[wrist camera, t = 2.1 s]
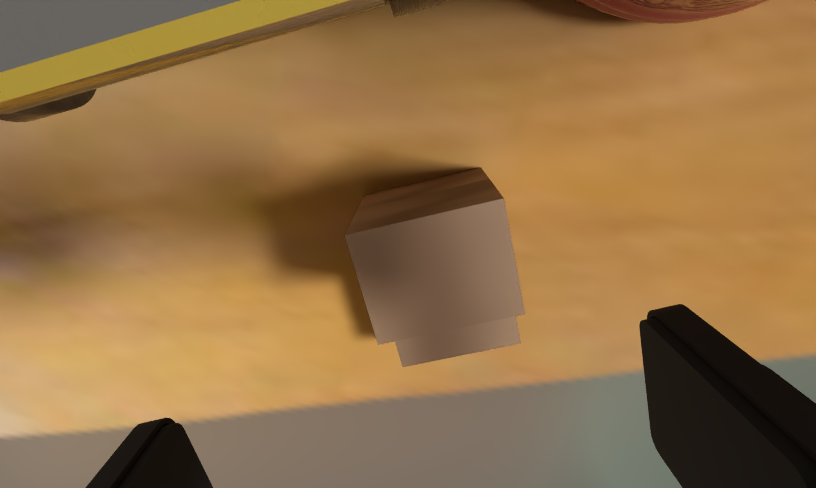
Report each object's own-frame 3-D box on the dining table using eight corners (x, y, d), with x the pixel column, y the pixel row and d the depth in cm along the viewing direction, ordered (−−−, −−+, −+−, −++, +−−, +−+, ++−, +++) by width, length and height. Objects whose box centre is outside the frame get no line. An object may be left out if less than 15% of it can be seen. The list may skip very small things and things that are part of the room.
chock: (480, 166, 19) (503, 198, 14) (509, 314, 21) (539, 389, 16) (364, 194, 20) (344, 235, 14) (404, 336, 22) (399, 415, 17)
